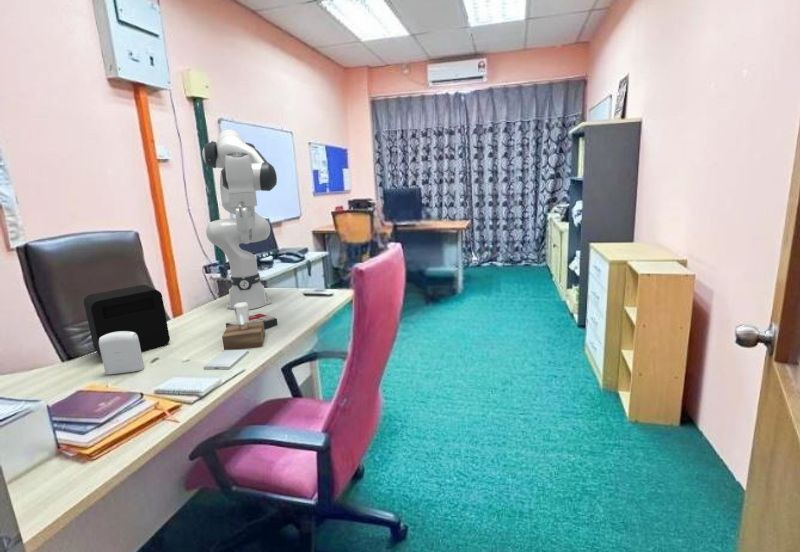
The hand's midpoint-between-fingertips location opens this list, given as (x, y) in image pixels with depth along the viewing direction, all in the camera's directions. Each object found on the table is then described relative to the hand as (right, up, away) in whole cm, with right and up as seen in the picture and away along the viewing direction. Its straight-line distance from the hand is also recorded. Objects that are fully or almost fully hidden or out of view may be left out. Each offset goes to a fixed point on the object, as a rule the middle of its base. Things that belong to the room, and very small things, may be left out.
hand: (248, 241), depth 150 cm
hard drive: (0, -39, -17) cm, 42 cm away
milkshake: (0, -30, -4) cm, 30 cm away
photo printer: (-29, -41, -21) cm, 54 cm away
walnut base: (0, -35, -3) cm, 35 cm away
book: (-2, -32, +12) cm, 34 cm away
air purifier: (-39, -37, -2) cm, 54 cm away
